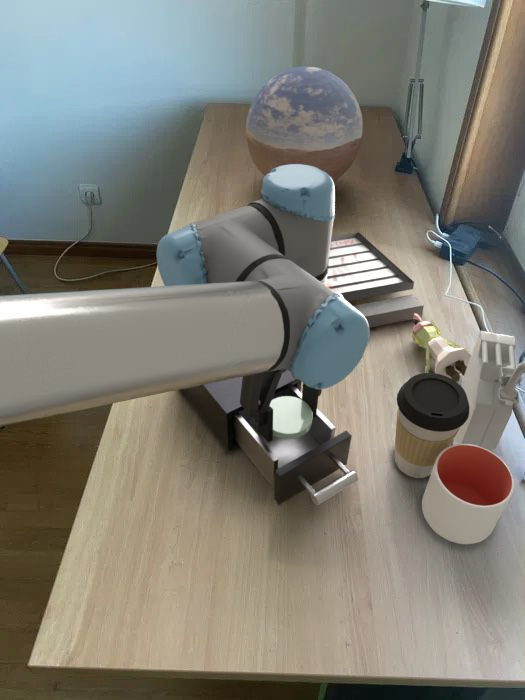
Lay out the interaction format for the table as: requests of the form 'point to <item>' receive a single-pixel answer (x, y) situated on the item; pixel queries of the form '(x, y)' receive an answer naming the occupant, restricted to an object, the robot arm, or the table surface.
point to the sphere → (304, 122)
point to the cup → (466, 493)
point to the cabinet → (226, 403)
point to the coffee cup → (427, 421)
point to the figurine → (440, 350)
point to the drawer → (297, 455)
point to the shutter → (370, 280)
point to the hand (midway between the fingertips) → (287, 423)
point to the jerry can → (490, 390)
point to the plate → (290, 417)
